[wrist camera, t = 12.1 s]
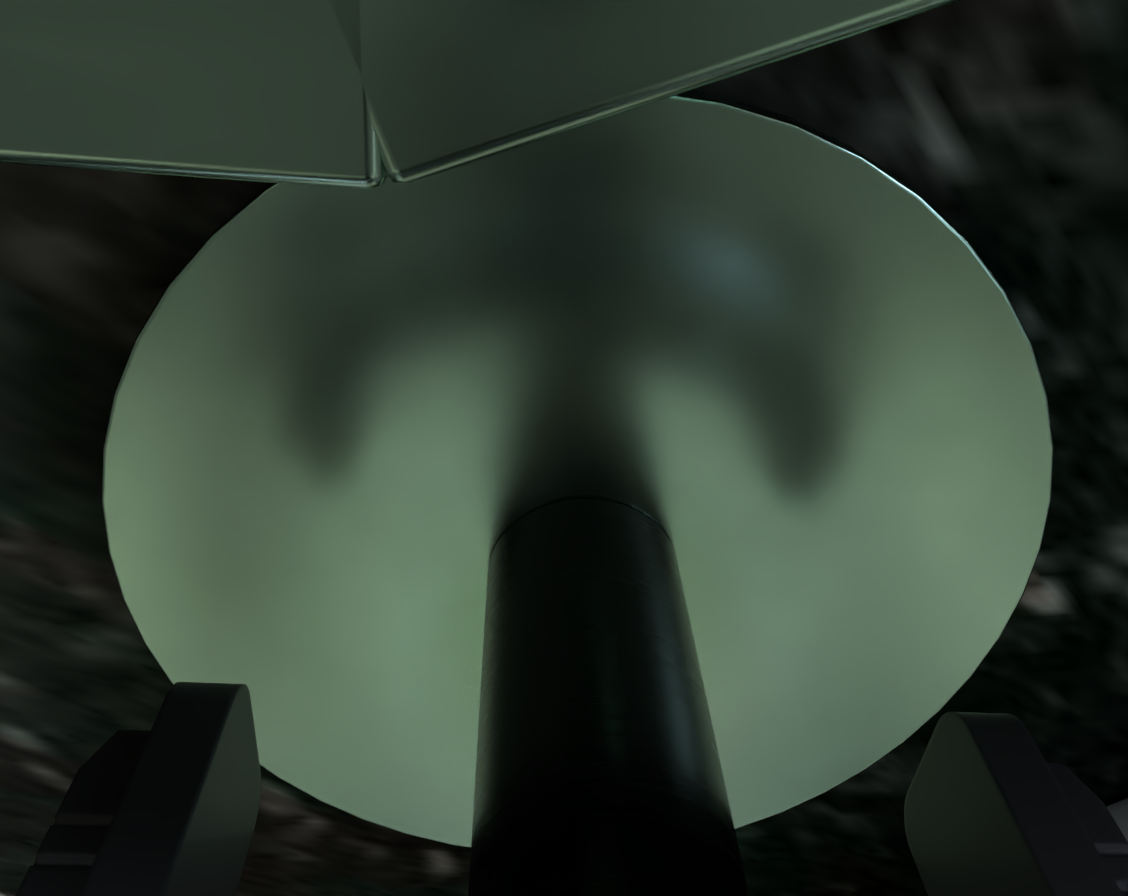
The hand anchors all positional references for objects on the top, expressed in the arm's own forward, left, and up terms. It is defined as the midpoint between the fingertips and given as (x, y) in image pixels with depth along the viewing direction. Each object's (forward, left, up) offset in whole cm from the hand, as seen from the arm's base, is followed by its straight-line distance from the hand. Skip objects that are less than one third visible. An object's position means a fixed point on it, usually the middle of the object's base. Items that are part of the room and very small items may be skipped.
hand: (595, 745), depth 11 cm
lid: (0, 0, -4) cm, 4 cm away
